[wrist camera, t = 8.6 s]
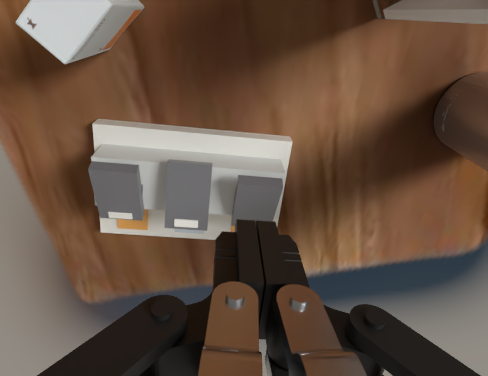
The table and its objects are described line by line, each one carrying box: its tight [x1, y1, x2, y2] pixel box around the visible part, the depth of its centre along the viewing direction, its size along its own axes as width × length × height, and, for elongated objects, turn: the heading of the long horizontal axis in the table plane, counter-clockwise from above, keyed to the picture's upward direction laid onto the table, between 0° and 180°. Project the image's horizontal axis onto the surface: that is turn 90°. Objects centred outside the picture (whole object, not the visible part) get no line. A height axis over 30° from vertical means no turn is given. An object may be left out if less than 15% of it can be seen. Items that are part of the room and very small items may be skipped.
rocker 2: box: [231, 175, 283, 226], centre depth 38 cm, size 4×7×2 cm, turn 174°
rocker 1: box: [88, 161, 144, 221], centre depth 36 cm, size 4×7×2 cm, turn 174°
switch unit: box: [91, 119, 292, 240], centre depth 42 cm, size 22×14×6 cm, turn 84°
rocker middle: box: [164, 159, 212, 231], centre depth 37 cm, size 4×7×2 cm, turn 174°
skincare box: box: [16, 0, 144, 64], centre depth 30 cm, size 6×4×12 cm
